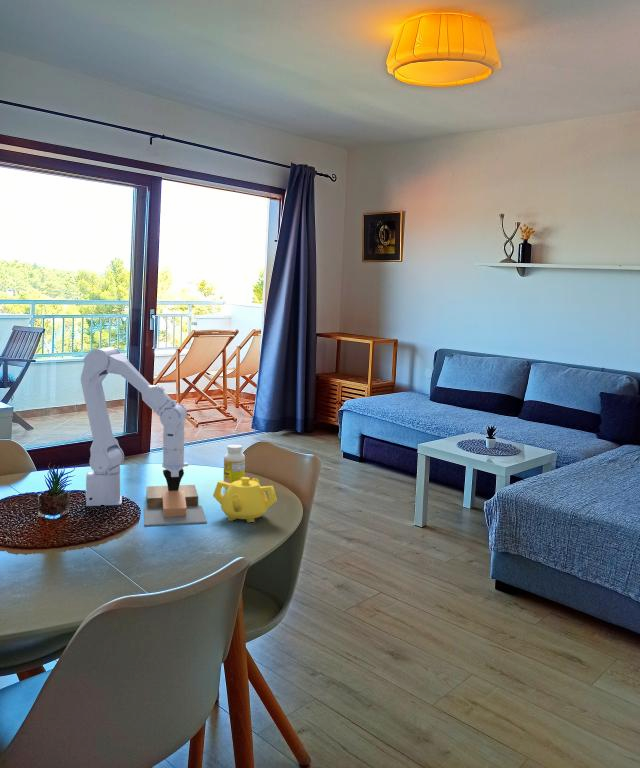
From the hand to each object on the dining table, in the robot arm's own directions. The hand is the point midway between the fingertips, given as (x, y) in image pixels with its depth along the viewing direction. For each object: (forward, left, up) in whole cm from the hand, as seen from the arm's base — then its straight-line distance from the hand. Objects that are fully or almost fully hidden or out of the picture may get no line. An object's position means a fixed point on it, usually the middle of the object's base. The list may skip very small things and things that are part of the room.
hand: (173, 495), depth 195 cm
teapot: (+18, -11, -4) cm, 22 cm away
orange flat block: (0, -5, -2) cm, 5 cm away
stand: (0, +6, -3) cm, 7 cm away
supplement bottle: (+20, +20, -4) cm, 28 cm away
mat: (0, -8, -3) cm, 8 cm away
